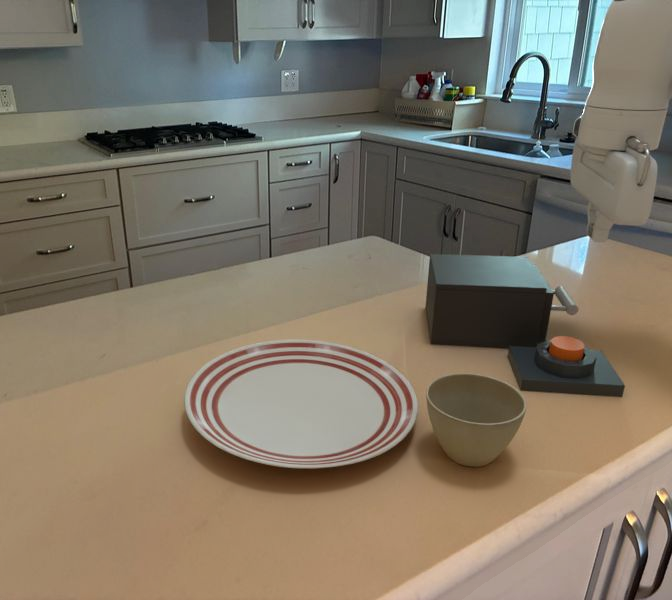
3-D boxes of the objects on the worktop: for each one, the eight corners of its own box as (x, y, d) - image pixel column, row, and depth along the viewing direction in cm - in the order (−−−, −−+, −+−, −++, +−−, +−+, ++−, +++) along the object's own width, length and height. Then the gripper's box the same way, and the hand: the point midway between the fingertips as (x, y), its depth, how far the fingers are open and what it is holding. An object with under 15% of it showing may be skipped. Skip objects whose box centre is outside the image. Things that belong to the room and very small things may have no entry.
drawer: (556, 311, 97) (565, 264, 94) (577, 345, 86) (587, 294, 83) (440, 306, 100) (444, 260, 96) (447, 338, 89) (452, 288, 86)
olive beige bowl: (525, 440, 68) (534, 385, 66) (506, 495, 61) (516, 435, 58) (436, 416, 73) (441, 363, 70) (408, 463, 65) (413, 407, 62)
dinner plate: (375, 349, 89) (376, 328, 87) (456, 473, 64) (459, 447, 62) (183, 367, 85) (181, 346, 84) (190, 506, 60) (187, 479, 59)
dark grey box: (518, 313, 99) (527, 256, 95) (536, 350, 87) (546, 288, 83) (425, 308, 101) (430, 253, 97) (430, 344, 89) (436, 283, 86)
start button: (577, 348, 81) (579, 336, 80) (586, 363, 77) (588, 351, 77) (545, 346, 82) (547, 335, 81) (552, 361, 78) (555, 349, 77)
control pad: (599, 361, 84) (604, 338, 83) (622, 397, 76) (628, 372, 74) (507, 356, 86) (510, 334, 84) (520, 390, 78) (524, 366, 76)
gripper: (684, 146, 65) (652, 268, 71) (620, 120, 84) (598, 218, 89) (620, 144, 66) (593, 264, 72) (570, 119, 85) (552, 216, 90)
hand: (595, 238), depth 81 cm, fingers closed
